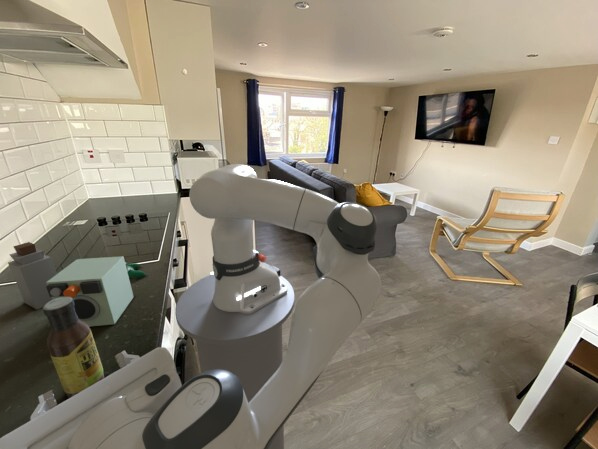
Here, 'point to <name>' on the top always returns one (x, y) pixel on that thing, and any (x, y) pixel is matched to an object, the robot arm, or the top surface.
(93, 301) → the washer
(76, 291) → the button
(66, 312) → the sauce bottle
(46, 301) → the perfume bottle
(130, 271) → the gaming controller
